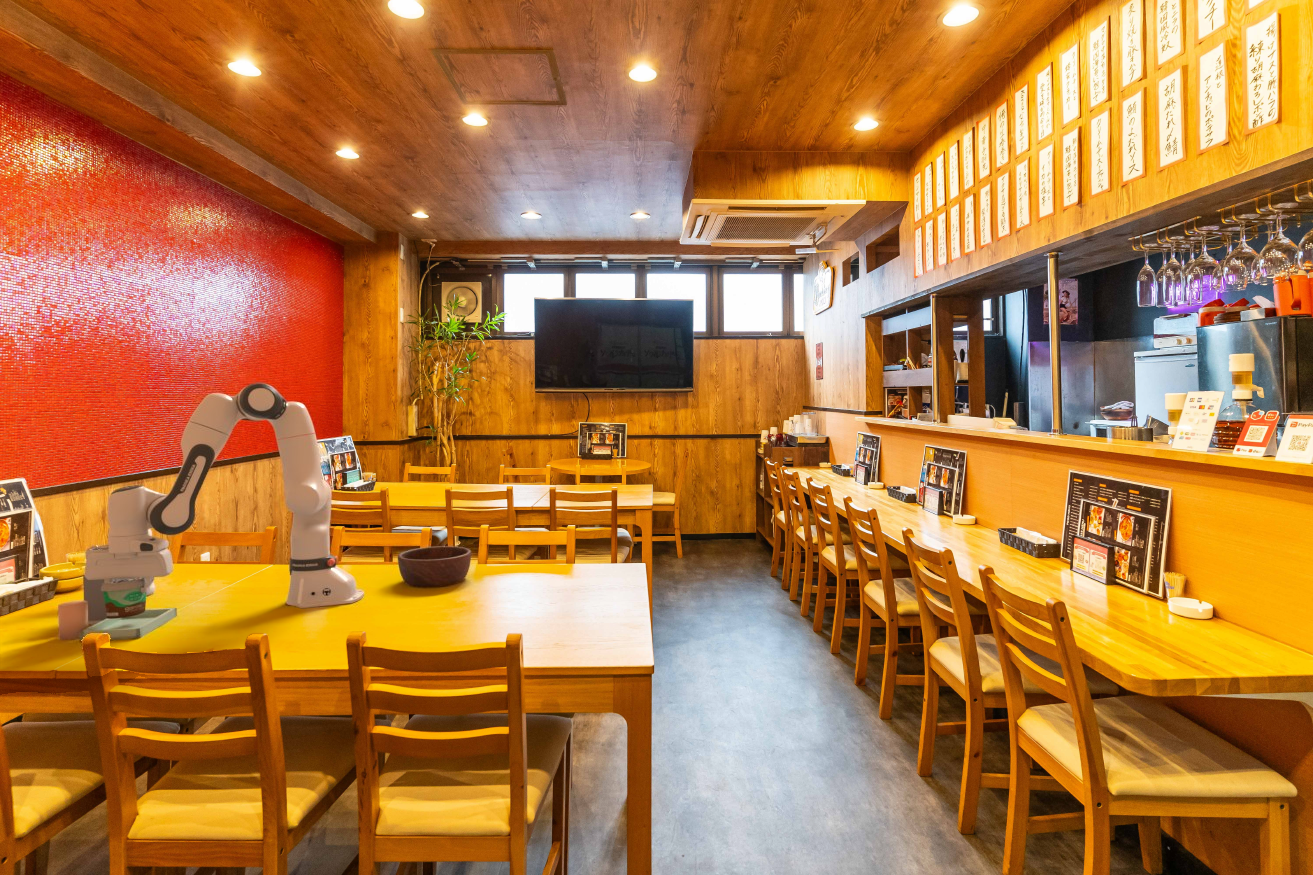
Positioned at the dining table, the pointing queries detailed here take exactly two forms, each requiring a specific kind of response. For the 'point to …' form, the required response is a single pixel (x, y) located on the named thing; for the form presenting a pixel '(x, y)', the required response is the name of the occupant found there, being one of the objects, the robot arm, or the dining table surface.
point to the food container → (124, 598)
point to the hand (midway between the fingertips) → (130, 593)
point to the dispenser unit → (96, 599)
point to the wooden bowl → (434, 566)
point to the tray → (132, 624)
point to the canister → (72, 619)
